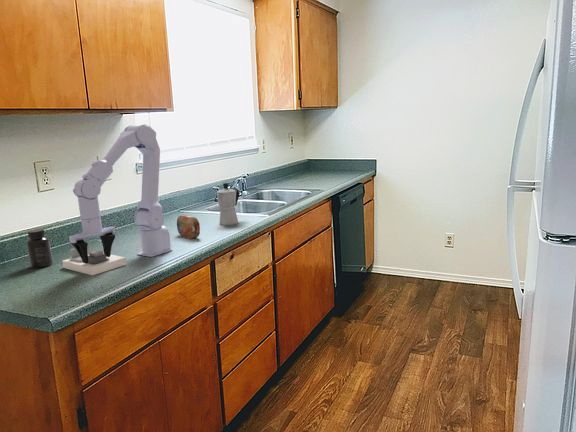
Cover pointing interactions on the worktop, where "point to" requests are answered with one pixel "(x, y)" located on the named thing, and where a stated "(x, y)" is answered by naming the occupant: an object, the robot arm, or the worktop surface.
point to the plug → (96, 257)
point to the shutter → (77, 254)
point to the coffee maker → (228, 205)
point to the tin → (188, 226)
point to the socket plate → (97, 268)
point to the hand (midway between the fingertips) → (96, 259)
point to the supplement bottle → (39, 249)
